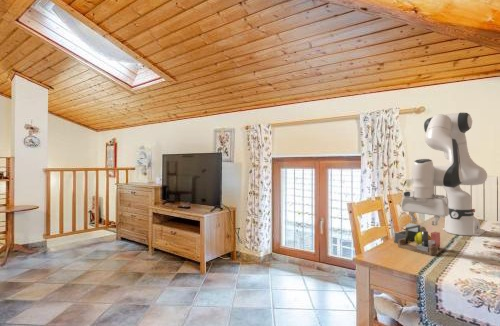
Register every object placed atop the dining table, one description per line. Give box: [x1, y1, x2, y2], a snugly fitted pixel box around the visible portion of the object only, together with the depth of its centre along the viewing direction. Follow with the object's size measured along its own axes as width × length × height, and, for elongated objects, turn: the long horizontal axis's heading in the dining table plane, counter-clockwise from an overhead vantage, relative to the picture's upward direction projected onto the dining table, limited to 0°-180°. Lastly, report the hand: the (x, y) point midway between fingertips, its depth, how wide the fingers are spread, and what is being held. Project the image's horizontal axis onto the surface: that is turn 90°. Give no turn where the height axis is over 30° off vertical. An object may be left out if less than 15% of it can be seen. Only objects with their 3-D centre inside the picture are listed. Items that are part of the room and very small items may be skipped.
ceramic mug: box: [405, 222, 427, 232], centre depth 155 cm, size 11×8×8 cm
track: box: [397, 238, 438, 257], centre depth 133 cm, size 5×16×4 cm, turn 29°
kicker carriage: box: [416, 230, 441, 252], centre depth 132 cm, size 13×5×9 cm, turn 119°
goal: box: [393, 224, 421, 244], centre depth 147 cm, size 12×7×9 cm, turn 119°
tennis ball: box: [414, 232, 431, 245], centre depth 140 cm, size 7×7×7 cm
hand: (424, 223), depth 130 cm, fingers open, 8 cm apart
